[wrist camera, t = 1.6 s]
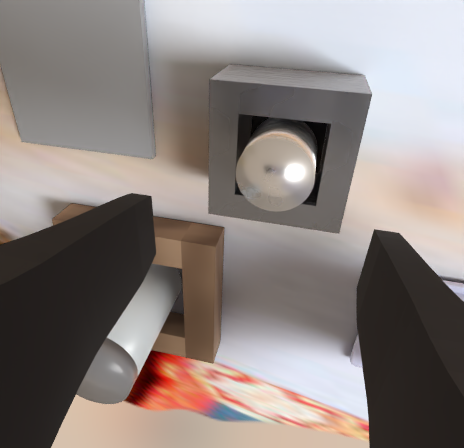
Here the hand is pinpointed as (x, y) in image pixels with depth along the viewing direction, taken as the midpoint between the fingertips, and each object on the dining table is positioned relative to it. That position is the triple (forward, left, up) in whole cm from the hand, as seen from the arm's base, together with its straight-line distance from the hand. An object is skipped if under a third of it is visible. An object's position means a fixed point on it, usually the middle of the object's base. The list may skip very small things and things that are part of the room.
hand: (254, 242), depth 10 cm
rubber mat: (+11, -2, -9) cm, 15 cm away
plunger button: (0, 0, -7) cm, 7 cm away
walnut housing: (+8, +11, -9) cm, 17 cm away
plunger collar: (0, 0, -9) cm, 9 cm away
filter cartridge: (+8, +11, -9) cm, 17 cm away
